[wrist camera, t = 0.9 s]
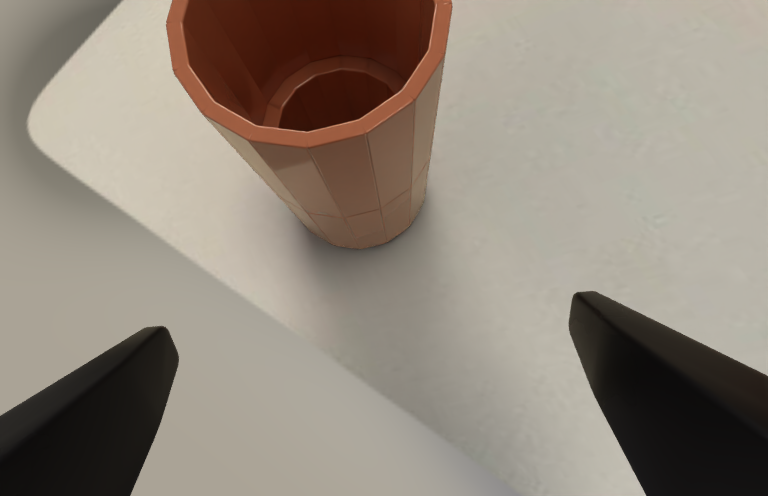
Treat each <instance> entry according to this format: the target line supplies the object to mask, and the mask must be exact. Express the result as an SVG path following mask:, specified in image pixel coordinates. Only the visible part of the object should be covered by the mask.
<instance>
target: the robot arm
mask: <svg viewBox="0 0 768 496" xmlns="http://www.w3.org/2000/svg"><path fill="white" fill-rule="evenodd" d="M569 331H570V335H571V337H572V340H573V342H574V345H575V348H576V350H577V353H578V355H579V358H580V361H581V363H582V366H583V368H584V371H585V374H586V376H587V379H588V381H589V384H590V386H591V389H592V391H593V394H594V396H595V398H596V400H597V402H598V404H599V406H600V408H601V410H602V412H603V414H604V416H605V417H606V419H607V421H608V423H609V425H610V427H611V429H612V431H613V433H614V435H615V437H616V439H617V440H618V442H619V444H620V446H621V448H622V450H623V452H624V454H625V456H626V458H627V460H628V461H629V463H630V465H631V467H632V469H633V471H634V473H635V475H636V477H637V479H638V481H639V482H640V484H641V486H642V488H643V490H644V492H645V494H646V496H768V376H767V375H765V374H763V373H761V372H759V371H757V370H755V369H753V368H751V367H748V366H746V365H744V364H742V363H740V362H738V361H736V360H734V359H732V358H730V357H728V356H726V355H724V354H722V353H720V352H718V351H716V350H714V349H712V348H710V347H708V346H706V345H704V344H702V343H699V342H697V341H695V340H693V339H691V338H689V337H687V336H685V335H683V334H681V333H679V332H677V331H675V330H673V329H671V328H669V327H667V326H665V325H663V324H661V323H659V322H657V321H655V320H653V319H651V318H648V317H646V316H644V315H642V314H640V313H638V312H636V311H634V310H632V309H630V308H628V307H626V306H624V305H622V304H620V303H618V302H616V301H614V300H612V299H610V298H608V297H606V296H604V295H602V294H599V293H597V292H595V291H586V292H577V293H575V294H574V295H573V298H572V303H571V310H570V317H569ZM178 362H179V356H178V352H177V350H176V347H175V345H174V342H173V340H172V338H171V335H170V333H169V331H168V329H167V328H166V327H164V326H157V327H156V326H155V327H146V328H144V329H142V330H140V331H139V332H137V333H135V334H134V335H132V336H130V337H129V338H127V339H125V340H124V341H122V342H121V343H119V344H117V345H116V346H114V347H112V348H111V349H109V350H107V351H106V352H104V353H103V354H101V355H99V356H98V357H96V358H94V359H93V360H91V361H89V362H88V363H86V364H85V365H83V366H81V367H80V368H78V369H76V370H75V371H73V372H71V373H70V374H68V375H66V376H65V377H64V378H62V379H60V380H58V381H57V382H55V383H54V384H52V385H50V386H48V387H47V388H45V389H44V390H42V391H40V392H39V393H37V394H36V395H34V396H32V397H30V398H29V399H27V400H26V401H24V402H22V403H21V404H19V405H17V406H16V407H14V408H13V409H11V410H9V411H8V412H6V413H4V414H3V415H1V416H0V496H130V495H131V492H132V490H133V488H134V485H135V483H136V480H137V478H138V476H139V473H140V471H141V469H142V467H143V464H144V462H145V459H146V457H147V455H148V452H149V450H150V448H151V445H152V443H153V441H154V438H155V435H156V433H157V430H158V428H159V425H160V422H161V419H162V416H163V413H164V410H165V407H166V403H167V400H168V397H169V394H170V390H171V387H172V384H173V380H174V377H175V374H176V371H177V367H178Z"/></svg>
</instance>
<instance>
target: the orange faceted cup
mask: <svg viewBox="0 0 768 496" xmlns="http://www.w3.org/2000/svg"><path fill="white" fill-rule="evenodd" d="M451 14H452V1H451V0H172V4H171V7H170V10H169V14H168V17H167V21H166V23H167V24H166V28H167V35H168V41H169V48H170V55H171V61H172V68H173V71H174V74H175V76H176V77H177V79H178V80H179V82H180V83H181V85H182V86H183V87H184V89H185V90H186V92H187V93H188V95H189V96H190V98H191V99H192V100H193V102H194V103H195V105H196V106H197V108H198V109H199V111H200V112H201V113H202V114H203V115H204V117H205V118H206V119H207V120H208V121H209V122H210V123H211V124H212V125H213V126H214V127H215V128H216V130H217V131H218V132H219V133H220V134H221V135H222V136H223V137H224V138H225V139H226V140H227V141H228V143H229V144H230V145H231V146H232V147H233V148H234V149H235V150H236V151H237V152H238V153H239V155H240V156H241V157H242V158H243V159H244V160H245V161H246V162H247V163H248V164H249V165H250V166H251V168H252V169H253V170H254V171H255V172H256V173H257V174H258V175H259V176H260V177H261V178H262V179H263V181H264V182H265V183H266V184H267V185H268V186H269V187H270V188H271V189H272V190H273V191H274V193H276V195H277V196H278V197H279V198H280V199H281V200H282V201H283V202H284V203H285V204H286V205H287V207H288V208H289V209H290V210H291V211H292V212H293V213H294V214H295V215H296V216H297V217H298V218H299V220H300V221H301V222H302V223H303V224H304V225H305V226H306V227H307V228H308V229H309V230H310V231H311V232H312V233H314V234H315V235H317V236H319V237H320V238H322V239H323V240H325V241H327V242H328V243H330V244H332V245H335V246H341V247H348V248H355V249H363V248H367V247H372V246H376V245H380V244H384V243H386V242H389V241H390V240H392V239H393V238H394V237H396V236H397V235H399V234H400V233H401V232H403V231H404V230H406V229H407V228H408V227H409V226H410V225H411V223H412V222H413V220H414V218H415V217H416V215H417V214H418V212H419V210H420V209H421V207H422V205H423V203H424V197H425V190H426V183H427V177H428V170H429V163H430V156H431V149H432V143H433V136H434V129H435V122H436V115H437V109H438V102H439V95H440V88H441V82H442V75H443V68H444V61H445V54H446V48H447V41H448V34H449V27H450V21H451Z"/></svg>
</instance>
